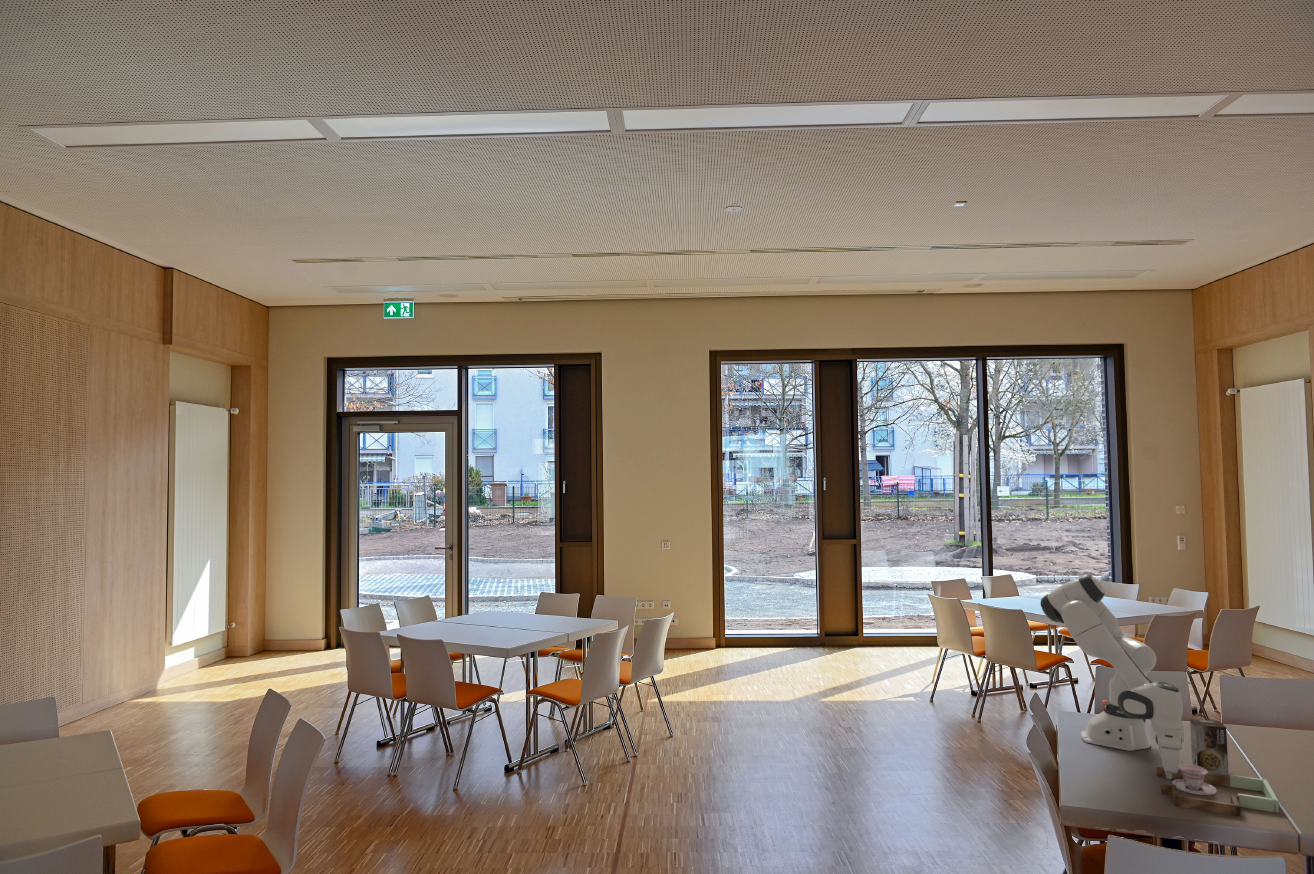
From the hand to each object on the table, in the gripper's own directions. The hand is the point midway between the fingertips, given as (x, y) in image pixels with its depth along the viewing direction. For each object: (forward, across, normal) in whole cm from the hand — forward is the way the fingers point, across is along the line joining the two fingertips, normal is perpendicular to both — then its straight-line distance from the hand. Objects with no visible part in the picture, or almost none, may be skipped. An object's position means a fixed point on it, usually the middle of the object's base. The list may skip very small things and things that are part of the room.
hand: (1168, 777), depth 256 cm
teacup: (+3, -2, +7) cm, 8 cm away
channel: (+3, +4, +7) cm, 9 cm away
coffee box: (+3, -20, +13) cm, 24 cm away
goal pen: (+3, 0, +22) cm, 22 cm away
